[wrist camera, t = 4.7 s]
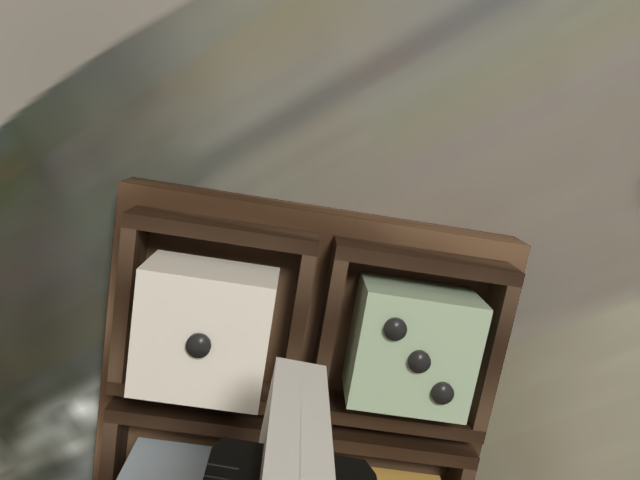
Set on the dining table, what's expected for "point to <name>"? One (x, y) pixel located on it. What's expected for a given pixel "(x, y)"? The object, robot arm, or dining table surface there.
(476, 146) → the dining table surface
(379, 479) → the button four
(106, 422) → the wooden compartment tray
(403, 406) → the button three
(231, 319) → the button one
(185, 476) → the button two
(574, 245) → the dining table surface
